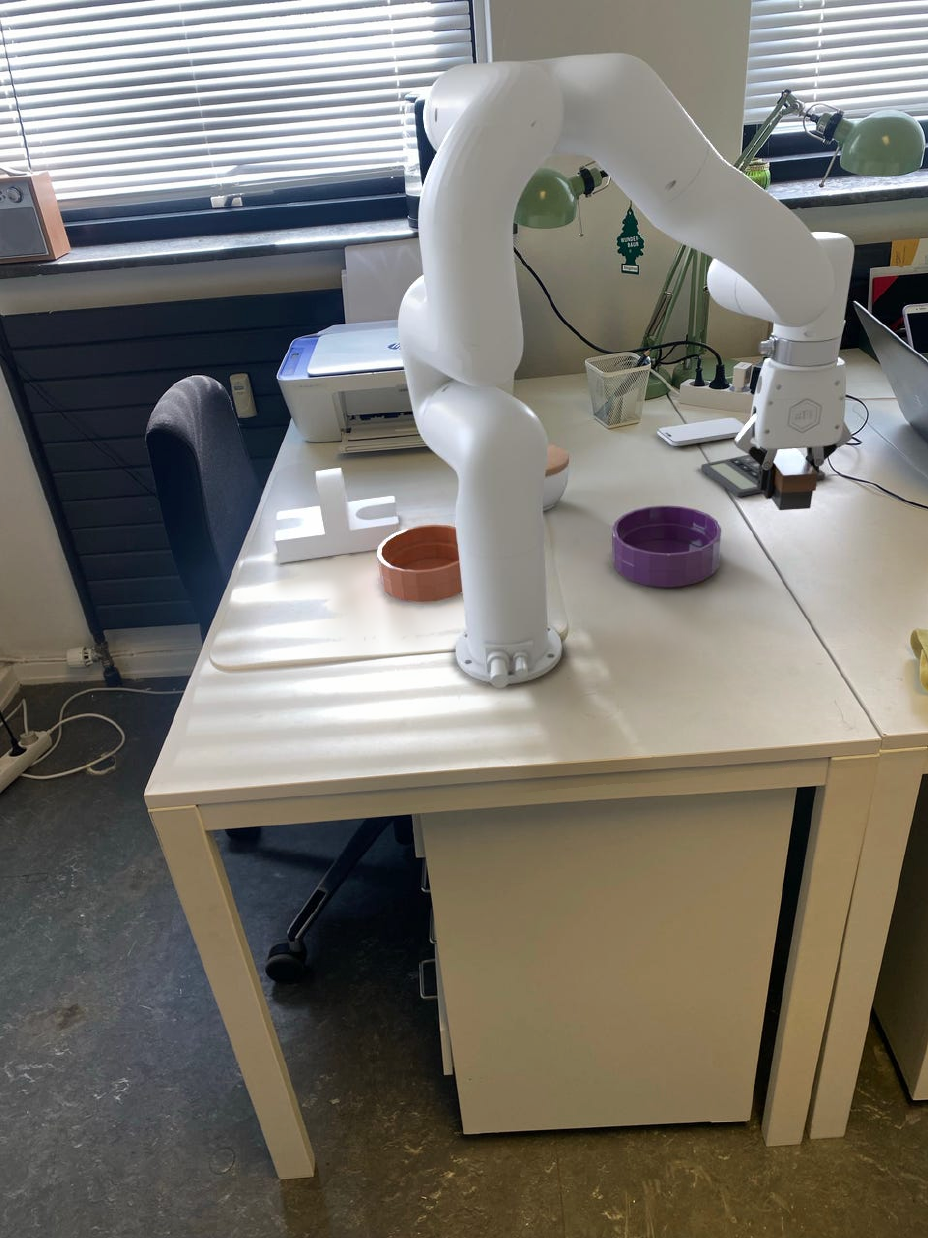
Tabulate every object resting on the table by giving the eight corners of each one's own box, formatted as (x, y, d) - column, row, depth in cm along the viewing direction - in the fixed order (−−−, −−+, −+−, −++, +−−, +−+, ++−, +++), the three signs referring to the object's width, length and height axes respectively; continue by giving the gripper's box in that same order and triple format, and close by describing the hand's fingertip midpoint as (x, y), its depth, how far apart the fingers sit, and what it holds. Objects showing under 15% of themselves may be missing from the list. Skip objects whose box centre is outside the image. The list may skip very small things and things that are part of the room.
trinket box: (518, 485, 147) (515, 430, 142) (580, 493, 142) (579, 437, 137) (489, 513, 139) (485, 456, 134) (554, 523, 134) (552, 465, 129)
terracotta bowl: (478, 601, 118) (475, 567, 115) (378, 608, 118) (373, 575, 116) (477, 552, 129) (474, 521, 126) (385, 559, 129) (380, 528, 127)
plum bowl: (730, 585, 116) (733, 550, 113) (620, 593, 116) (621, 558, 113) (705, 535, 127) (707, 501, 125) (606, 542, 128) (606, 509, 125)
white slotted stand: (279, 563, 131) (264, 494, 125) (281, 533, 139) (267, 467, 133) (402, 546, 133) (392, 476, 127) (397, 517, 141) (387, 450, 135)
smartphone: (753, 430, 155) (673, 442, 153) (753, 436, 156) (673, 448, 153) (733, 416, 161) (655, 428, 159) (732, 422, 162) (655, 434, 159)
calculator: (826, 472, 138) (738, 491, 136) (825, 478, 139) (738, 497, 136) (783, 446, 148) (700, 463, 145) (782, 451, 148) (700, 468, 146)
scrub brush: (812, 509, 111) (818, 473, 108) (778, 511, 111) (783, 475, 108) (791, 481, 118) (796, 446, 116) (759, 483, 118) (762, 448, 116)
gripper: (740, 363, 102) (726, 510, 112) (891, 353, 101) (863, 501, 111) (723, 345, 108) (711, 485, 118) (865, 335, 107) (841, 477, 117)
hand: (785, 491), depth 114 cm, fingers closed on scrub brush, 4 cm apart
